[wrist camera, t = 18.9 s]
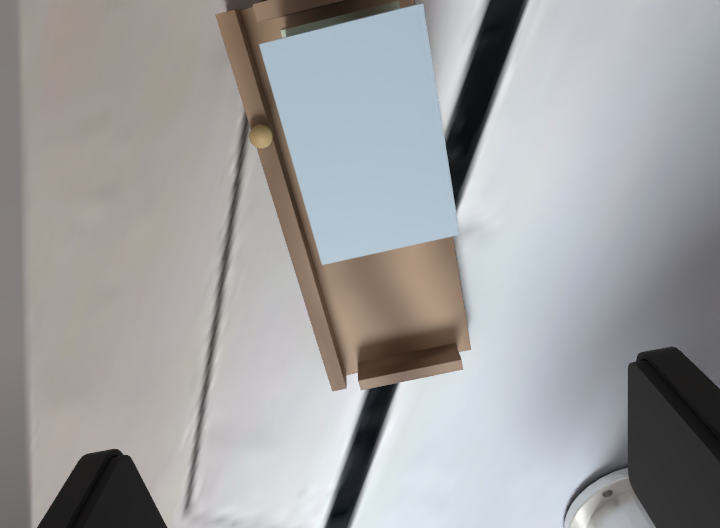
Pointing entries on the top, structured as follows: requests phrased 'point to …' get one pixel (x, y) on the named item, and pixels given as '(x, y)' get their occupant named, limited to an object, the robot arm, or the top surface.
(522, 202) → the top surface
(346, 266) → the brown wooden shallow tray
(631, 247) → the top surface
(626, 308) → the top surface
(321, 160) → the blue-grey rectangular block
